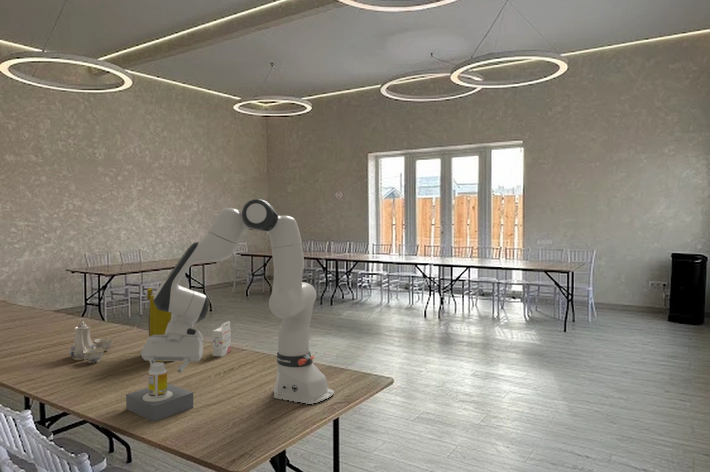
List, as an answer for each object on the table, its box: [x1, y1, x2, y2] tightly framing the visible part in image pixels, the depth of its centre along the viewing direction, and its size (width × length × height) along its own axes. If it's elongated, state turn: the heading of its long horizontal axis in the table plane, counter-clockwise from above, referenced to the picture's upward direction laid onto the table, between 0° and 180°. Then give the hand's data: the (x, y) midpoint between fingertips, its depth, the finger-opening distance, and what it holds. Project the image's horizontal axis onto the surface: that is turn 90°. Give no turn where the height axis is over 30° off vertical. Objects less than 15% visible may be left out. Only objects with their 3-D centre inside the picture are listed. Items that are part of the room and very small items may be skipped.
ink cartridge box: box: [212, 320, 232, 358], centre depth 217 cm, size 9×5×15 cm, turn 168°
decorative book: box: [146, 287, 172, 363], centre depth 211 cm, size 20×11×30 cm, turn 26°
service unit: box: [125, 382, 194, 423], centre depth 155 cm, size 17×14×5 cm
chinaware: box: [68, 320, 115, 364], centre depth 211 cm, size 28×17×17 cm, turn 21°
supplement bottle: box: [147, 362, 168, 398], centre depth 152 cm, size 6×6×10 cm
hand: (165, 371), depth 157 cm, fingers open, 8 cm apart
